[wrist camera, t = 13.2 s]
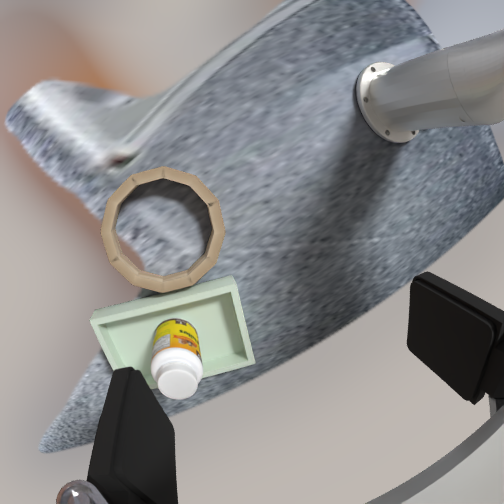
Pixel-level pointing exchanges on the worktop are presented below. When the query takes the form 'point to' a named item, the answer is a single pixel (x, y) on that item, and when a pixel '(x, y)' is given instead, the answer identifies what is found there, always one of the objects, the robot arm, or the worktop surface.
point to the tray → (178, 306)
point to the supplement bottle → (176, 358)
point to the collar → (150, 279)
